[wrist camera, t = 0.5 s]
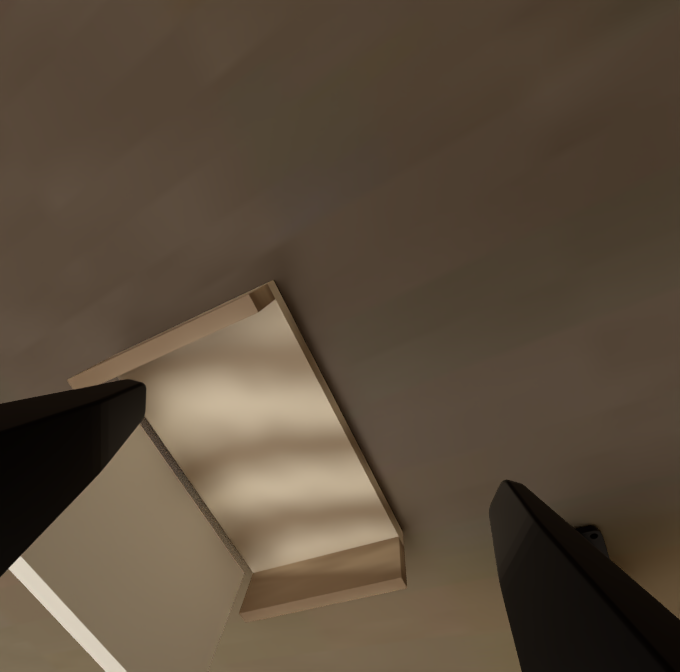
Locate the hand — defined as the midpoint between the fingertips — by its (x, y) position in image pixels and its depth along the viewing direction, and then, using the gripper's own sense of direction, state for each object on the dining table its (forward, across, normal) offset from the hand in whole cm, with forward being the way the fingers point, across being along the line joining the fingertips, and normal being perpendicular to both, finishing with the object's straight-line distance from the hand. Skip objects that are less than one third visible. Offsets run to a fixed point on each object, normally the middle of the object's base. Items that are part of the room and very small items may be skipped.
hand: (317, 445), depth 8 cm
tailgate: (+12, +10, +16) cm, 22 cm away
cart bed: (+13, +4, +11) cm, 18 cm away
